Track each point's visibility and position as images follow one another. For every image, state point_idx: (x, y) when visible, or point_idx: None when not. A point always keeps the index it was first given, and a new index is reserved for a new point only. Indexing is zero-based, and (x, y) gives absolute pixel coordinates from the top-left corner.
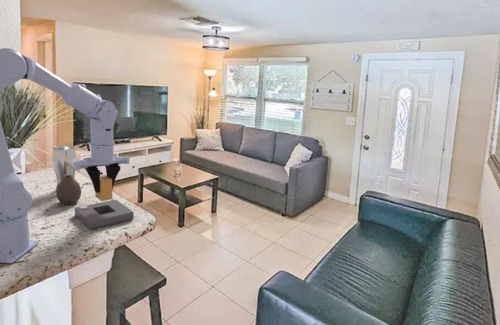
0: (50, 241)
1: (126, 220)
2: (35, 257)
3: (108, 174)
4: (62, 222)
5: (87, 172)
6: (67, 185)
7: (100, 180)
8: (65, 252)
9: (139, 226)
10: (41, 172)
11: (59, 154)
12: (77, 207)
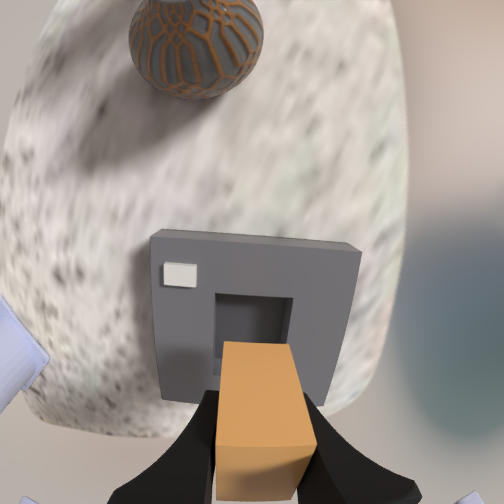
0: (70, 365)
1: None
2: (53, 398)
3: (312, 482)
4: (106, 269)
5: (138, 480)
6: (157, 53)
7: (216, 496)
8: (99, 421)
9: None
10: None
11: None
12: (160, 244)
